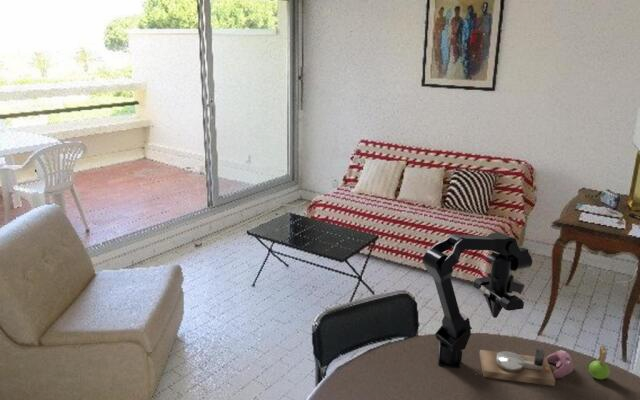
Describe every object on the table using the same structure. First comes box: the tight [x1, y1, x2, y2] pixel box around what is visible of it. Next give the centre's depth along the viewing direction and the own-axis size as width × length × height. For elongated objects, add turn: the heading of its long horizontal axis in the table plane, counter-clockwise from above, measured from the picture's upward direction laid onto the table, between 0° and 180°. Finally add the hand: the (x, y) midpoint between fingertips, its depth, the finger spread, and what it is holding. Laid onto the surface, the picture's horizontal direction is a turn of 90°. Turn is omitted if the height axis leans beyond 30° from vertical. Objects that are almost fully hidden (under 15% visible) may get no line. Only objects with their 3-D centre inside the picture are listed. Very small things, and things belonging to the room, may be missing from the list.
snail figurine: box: [588, 345, 611, 380], centre depth 150 cm, size 5×6×12 cm
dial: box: [496, 348, 546, 372], centre depth 153 cm, size 13×8×6 cm, turn 74°
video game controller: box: [545, 349, 574, 379], centre depth 155 cm, size 10×5×7 cm, turn 169°
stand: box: [478, 349, 556, 387], centre depth 155 cm, size 20×12×2 cm, turn 79°
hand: (494, 317), depth 163 cm, fingers closed
